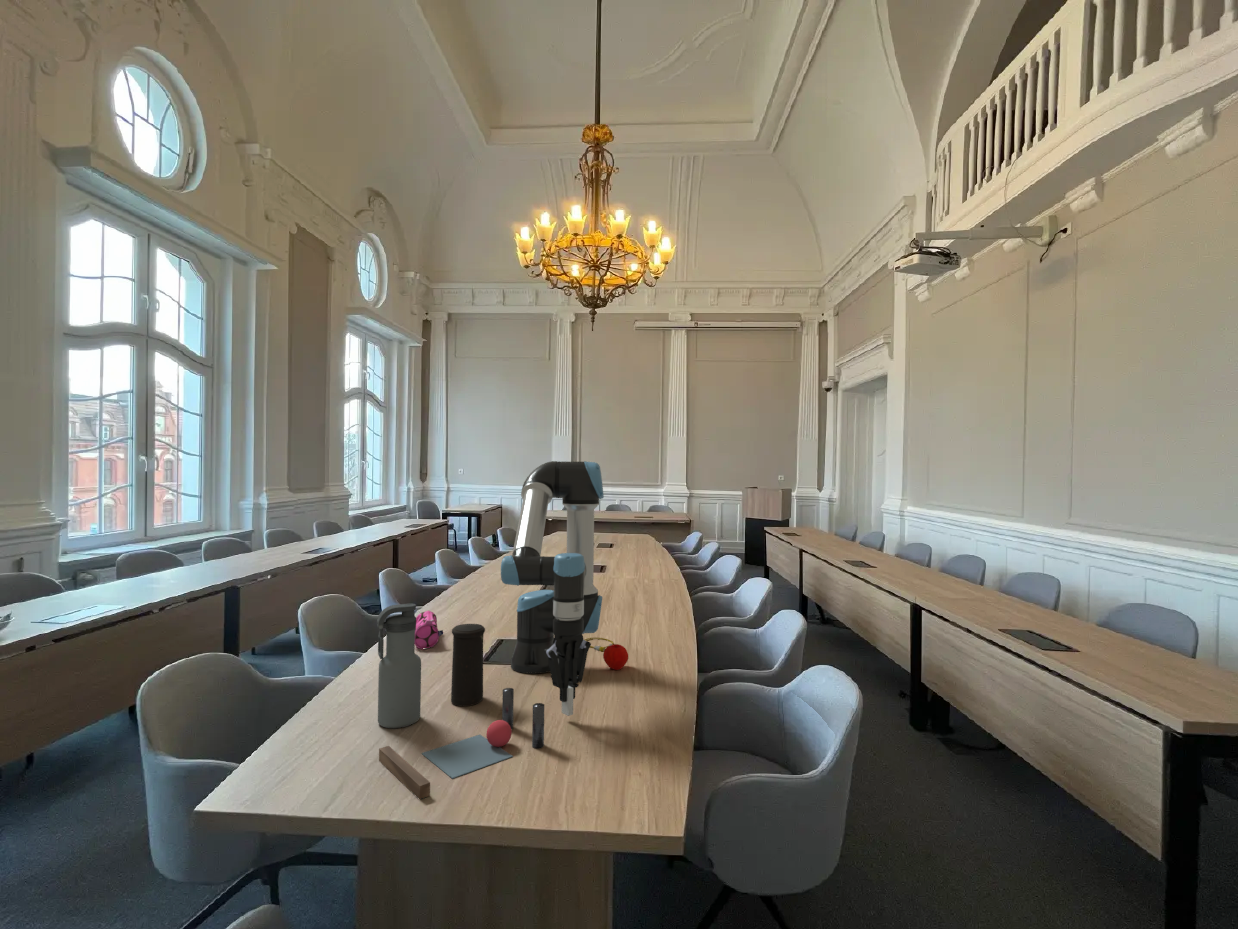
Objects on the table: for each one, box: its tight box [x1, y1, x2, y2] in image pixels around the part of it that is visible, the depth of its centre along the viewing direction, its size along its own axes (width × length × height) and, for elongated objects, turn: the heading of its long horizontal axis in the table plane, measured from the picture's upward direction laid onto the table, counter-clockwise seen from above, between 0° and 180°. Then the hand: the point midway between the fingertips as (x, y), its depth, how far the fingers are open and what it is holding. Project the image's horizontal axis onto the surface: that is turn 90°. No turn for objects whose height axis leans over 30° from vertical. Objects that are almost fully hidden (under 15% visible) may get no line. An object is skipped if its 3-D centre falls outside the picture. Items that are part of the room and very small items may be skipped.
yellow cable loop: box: [584, 637, 615, 653], centre depth 211 cm, size 12×16×2 cm
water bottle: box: [376, 603, 422, 729], centre depth 145 cm, size 10×10×28 cm
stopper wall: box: [378, 745, 431, 800], centre depth 118 cm, size 2×20×2 cm, turn 43°
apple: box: [602, 643, 629, 671], centre depth 186 cm, size 8×8×7 cm
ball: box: [486, 719, 512, 748], centre depth 132 cm, size 6×6×6 cm
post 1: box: [501, 687, 515, 730], centre depth 142 cm, size 3×3×9 cm
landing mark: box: [421, 734, 514, 780], centre depth 127 cm, size 14×14×1 cm
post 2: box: [531, 702, 545, 750], centre depth 132 cm, size 3×3×9 cm
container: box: [450, 623, 486, 707], centre depth 158 cm, size 9×9×20 cm
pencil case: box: [415, 610, 444, 650], centre depth 213 cm, size 21×10×10 cm, turn 21°
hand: (567, 713), depth 146 cm, fingers closed
